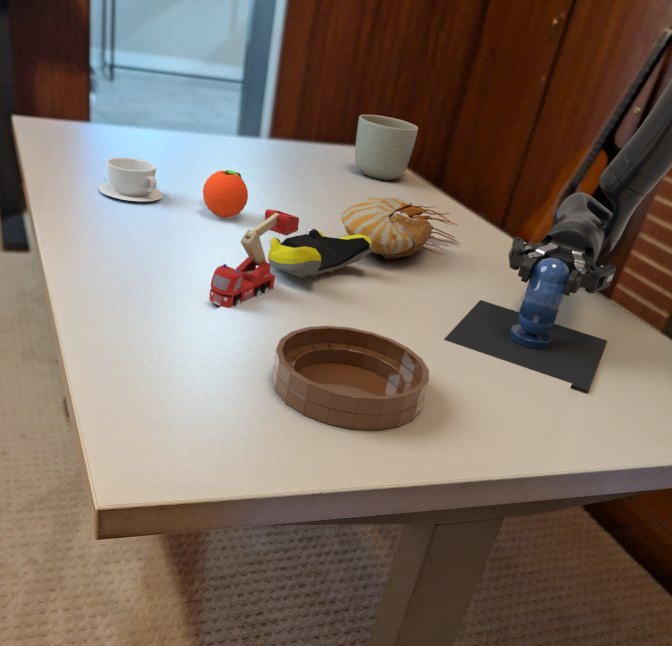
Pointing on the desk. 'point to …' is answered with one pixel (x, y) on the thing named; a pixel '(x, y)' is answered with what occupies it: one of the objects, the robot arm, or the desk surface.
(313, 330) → the bowl
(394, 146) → the planter
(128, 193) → the teacup
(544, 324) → the blue pill figure
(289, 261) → the black yellow sneaker
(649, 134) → the robot arm
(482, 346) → the mat
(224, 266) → the toy fire truck
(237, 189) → the clementine
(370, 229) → the nautilus shell
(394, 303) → the desk surface
